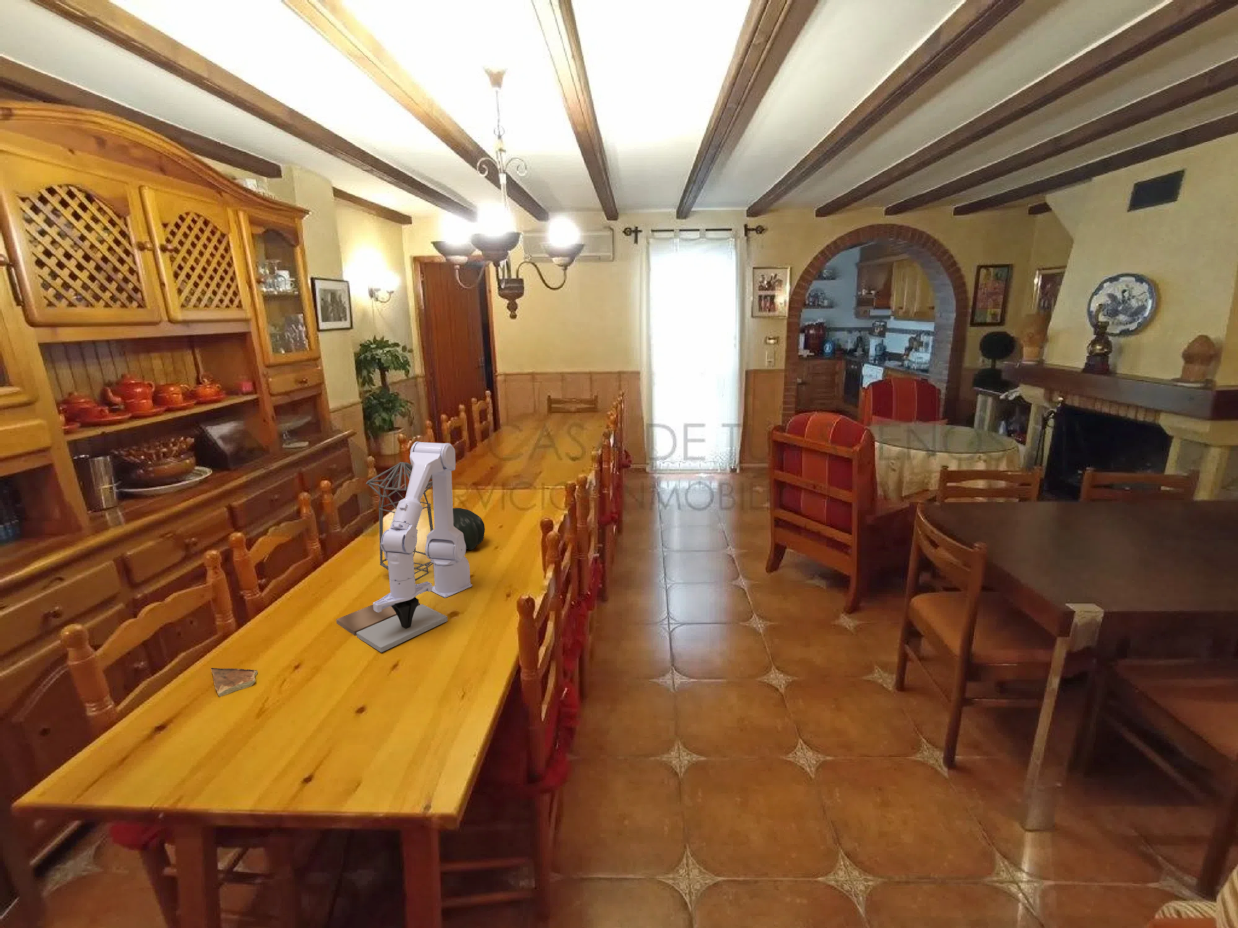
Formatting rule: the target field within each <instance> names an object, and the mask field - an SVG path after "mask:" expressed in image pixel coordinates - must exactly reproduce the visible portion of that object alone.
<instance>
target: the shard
mask: <svg viewBox="0 0 1238 928" xmlns="http://www.w3.org/2000/svg"><path fill="white" fill-rule="evenodd" d="M210 670H211V673H212V676H213V679H212V680H213V685H214V689H215V691H216V692H217V695H218V697H223V696H225V695H226V696H227V695H229V694H231V693H235V692H236V691H240V690H243V689H246V688H250V687H252V686H253V685H254V684H255V682H256V676H257V675H258V670H257V669H244V668H229V667H228V668H221V667H218V668H217V667H210Z"/></svg>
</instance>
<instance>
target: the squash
mask: <svg viewBox="0 0 1238 928" xmlns="http://www.w3.org/2000/svg"><path fill="white" fill-rule="evenodd" d="M453 526H454V527H455V528H457V529H458V530H459V531H461V532H462V533H463V536H464V541H465V544H466V550H470V551H471V550H474V549H475V548H477V545H479V544H481V543H482V542H483V541H484V537H485V532H486V526H485V522H484V521H483V519H482V517H481V516H479V515H478V514H476V513H475V512H473V511H472V510H469V509H467V508H462V507H453Z"/></svg>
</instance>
